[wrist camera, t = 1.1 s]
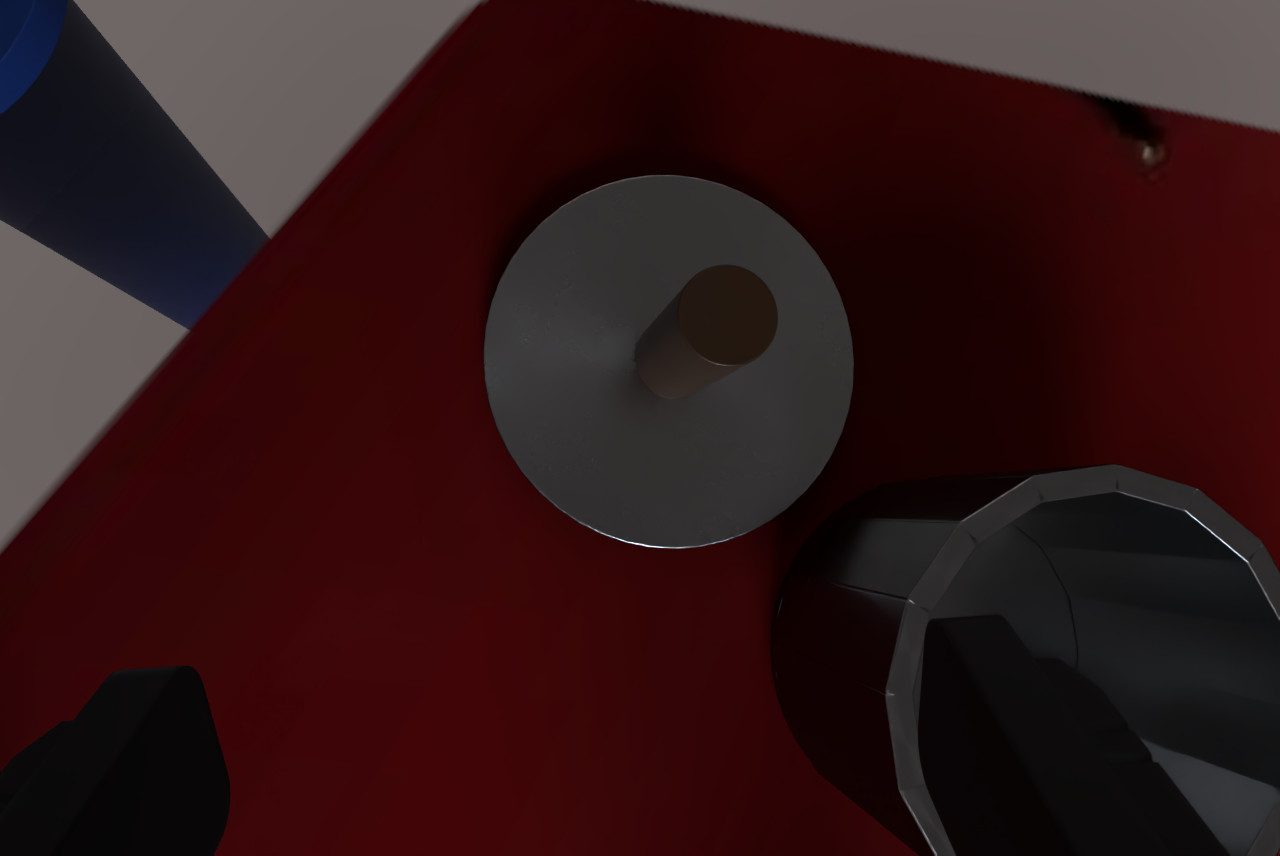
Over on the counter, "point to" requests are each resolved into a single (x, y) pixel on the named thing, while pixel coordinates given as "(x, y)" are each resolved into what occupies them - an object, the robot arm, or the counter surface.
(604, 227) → the tin lid
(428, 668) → the counter surface
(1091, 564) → the tin
